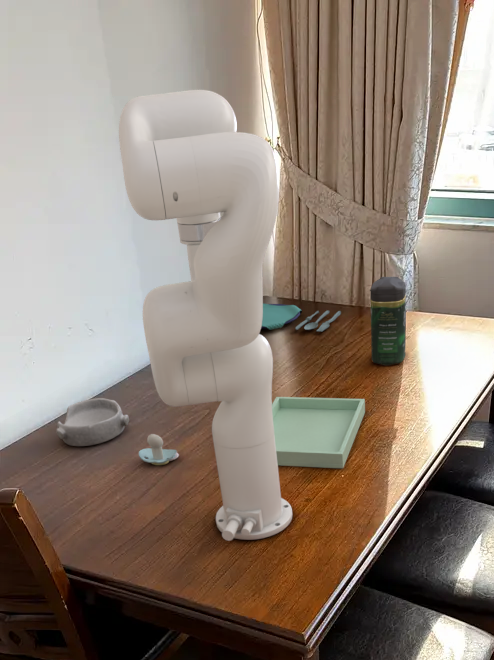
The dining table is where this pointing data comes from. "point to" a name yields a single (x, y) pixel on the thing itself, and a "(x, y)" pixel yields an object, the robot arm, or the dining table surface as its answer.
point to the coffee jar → (388, 320)
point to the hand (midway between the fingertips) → (214, 327)
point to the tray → (315, 430)
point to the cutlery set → (290, 317)
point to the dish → (92, 422)
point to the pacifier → (157, 452)
